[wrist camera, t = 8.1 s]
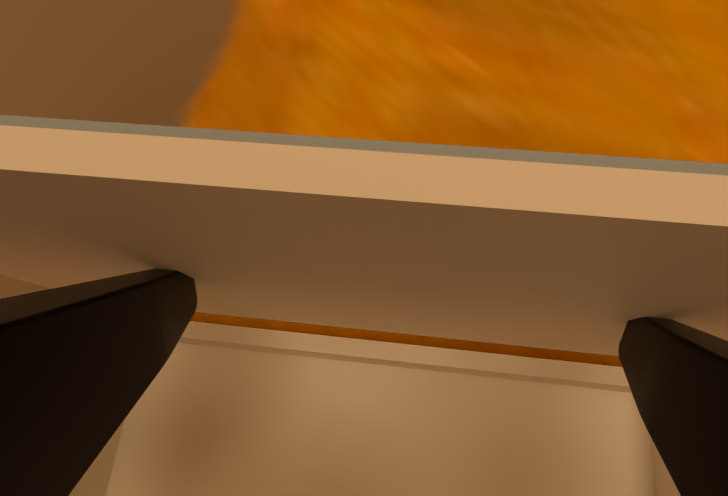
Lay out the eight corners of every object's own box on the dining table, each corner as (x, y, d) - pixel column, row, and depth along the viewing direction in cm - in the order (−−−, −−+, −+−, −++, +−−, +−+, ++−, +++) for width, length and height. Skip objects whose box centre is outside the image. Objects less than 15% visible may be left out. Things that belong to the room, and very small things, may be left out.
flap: (1707, 303, 4) (1654, 226, 4) (-523, 128, 5) (-493, 80, 6) (703, 365, 15) (701, 345, 15) (100, 302, 17) (105, 285, 17)
